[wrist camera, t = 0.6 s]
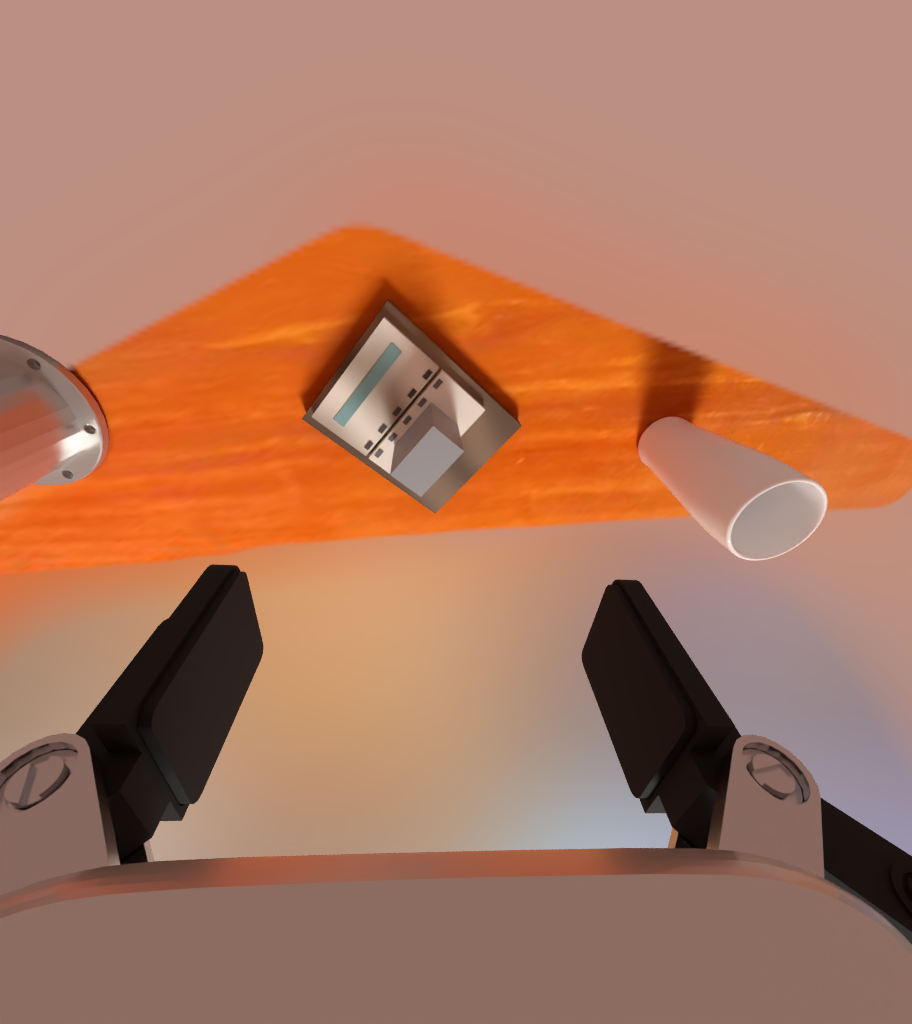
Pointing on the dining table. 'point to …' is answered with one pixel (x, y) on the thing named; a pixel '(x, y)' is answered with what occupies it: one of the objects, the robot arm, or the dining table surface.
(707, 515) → the drinking glass
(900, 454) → the dining table surface
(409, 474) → the stub
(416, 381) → the board
